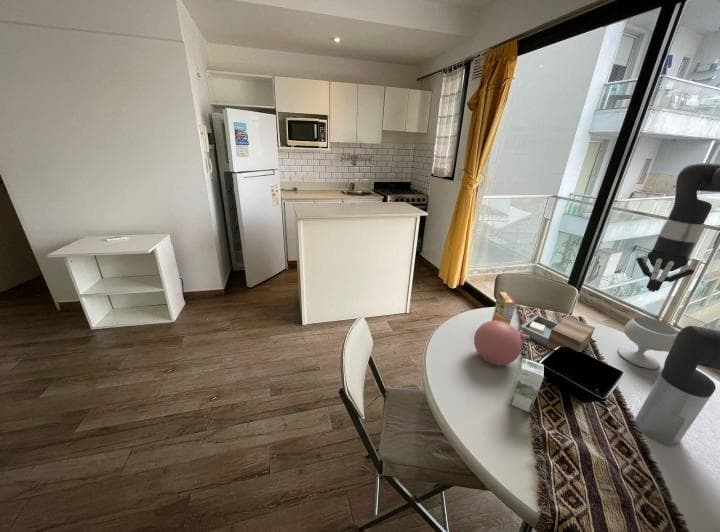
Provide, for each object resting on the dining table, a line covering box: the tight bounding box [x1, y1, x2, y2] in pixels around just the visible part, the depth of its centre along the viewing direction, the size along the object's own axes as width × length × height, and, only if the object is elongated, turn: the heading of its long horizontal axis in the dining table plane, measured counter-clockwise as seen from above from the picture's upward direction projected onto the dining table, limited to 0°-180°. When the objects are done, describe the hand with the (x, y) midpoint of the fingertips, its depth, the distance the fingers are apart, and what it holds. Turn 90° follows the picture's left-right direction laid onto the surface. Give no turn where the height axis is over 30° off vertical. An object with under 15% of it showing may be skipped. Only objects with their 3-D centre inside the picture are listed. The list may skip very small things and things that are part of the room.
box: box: [519, 314, 559, 347], centre depth 123 cm, size 16×10×4 cm, turn 129°
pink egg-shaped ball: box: [473, 320, 530, 366], centre depth 104 cm, size 15×20×15 cm
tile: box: [529, 321, 545, 334], centre depth 123 cm, size 5×5×2 cm
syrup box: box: [509, 357, 545, 414], centre depth 86 cm, size 6×6×14 cm
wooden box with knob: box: [545, 316, 596, 353], centre depth 115 cm, size 16×10×8 cm, turn 129°
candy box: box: [491, 291, 517, 325], centre depth 123 cm, size 9×4×15 cm, turn 175°
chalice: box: [617, 316, 678, 370], centre depth 108 cm, size 14×14×15 cm
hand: (651, 290), depth 90 cm, fingers closed
